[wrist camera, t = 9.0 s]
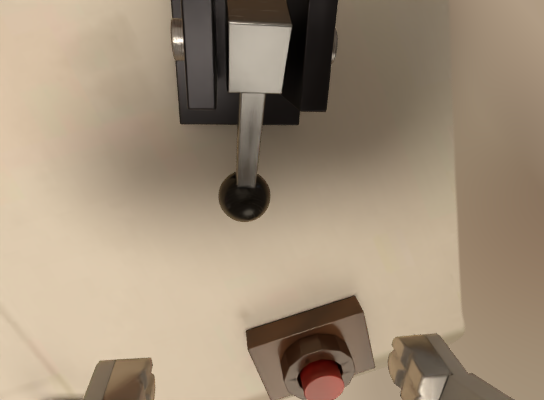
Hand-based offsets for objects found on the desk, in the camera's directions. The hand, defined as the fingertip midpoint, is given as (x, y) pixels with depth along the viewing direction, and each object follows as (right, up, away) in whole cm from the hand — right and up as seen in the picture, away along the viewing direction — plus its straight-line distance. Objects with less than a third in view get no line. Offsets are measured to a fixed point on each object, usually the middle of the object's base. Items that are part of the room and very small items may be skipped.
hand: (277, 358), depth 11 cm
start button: (+4, -10, +19) cm, 23 cm away
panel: (+4, -9, +23) cm, 25 cm away
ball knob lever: (-2, +10, +7) cm, 12 cm away
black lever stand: (-2, +15, +10) cm, 19 cm away
